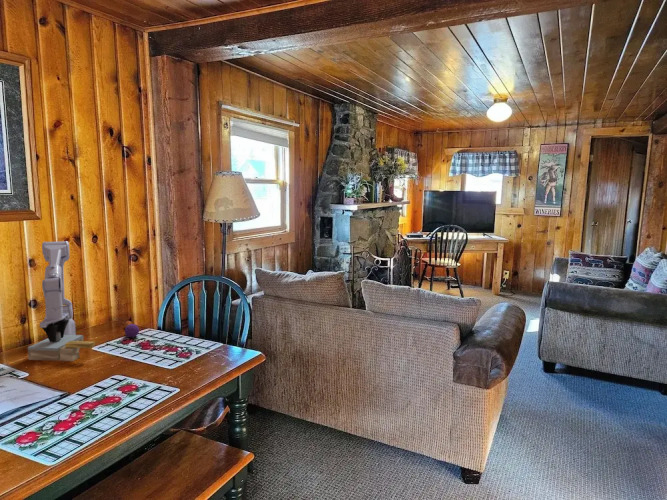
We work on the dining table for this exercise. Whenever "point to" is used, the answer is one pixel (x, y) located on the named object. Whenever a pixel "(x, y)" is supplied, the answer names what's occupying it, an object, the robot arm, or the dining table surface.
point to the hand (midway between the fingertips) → (56, 339)
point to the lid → (57, 344)
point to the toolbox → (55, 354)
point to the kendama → (131, 329)
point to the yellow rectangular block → (80, 344)
